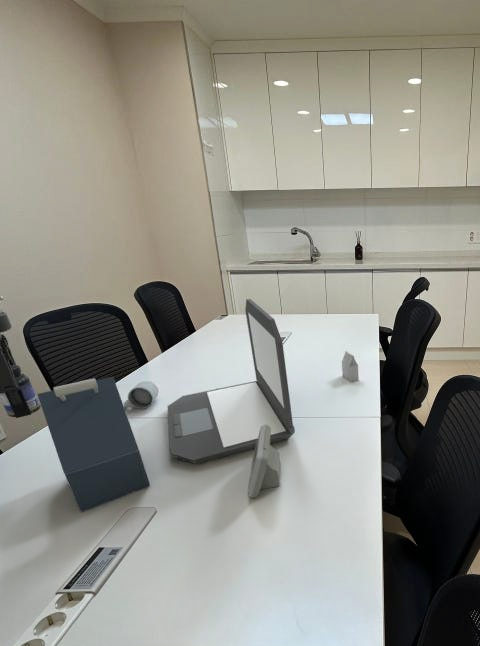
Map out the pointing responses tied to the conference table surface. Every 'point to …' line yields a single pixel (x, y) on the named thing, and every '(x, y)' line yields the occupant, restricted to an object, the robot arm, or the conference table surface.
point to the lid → (87, 423)
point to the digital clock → (264, 464)
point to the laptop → (237, 403)
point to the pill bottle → (26, 390)
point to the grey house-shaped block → (349, 367)
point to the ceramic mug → (142, 395)
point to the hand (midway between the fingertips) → (24, 410)
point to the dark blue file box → (108, 480)
